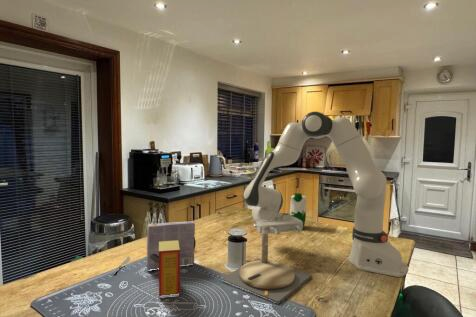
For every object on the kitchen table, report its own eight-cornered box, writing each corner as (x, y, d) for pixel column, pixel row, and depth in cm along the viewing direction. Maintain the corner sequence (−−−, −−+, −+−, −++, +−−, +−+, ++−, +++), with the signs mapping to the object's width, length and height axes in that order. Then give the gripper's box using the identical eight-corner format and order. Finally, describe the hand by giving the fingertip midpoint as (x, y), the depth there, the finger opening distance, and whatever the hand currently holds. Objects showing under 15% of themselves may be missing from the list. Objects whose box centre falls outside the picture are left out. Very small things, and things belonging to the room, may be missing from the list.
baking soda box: (159, 284, 109) (159, 240, 107) (178, 283, 110) (178, 239, 109) (159, 299, 100) (158, 250, 98) (179, 296, 101) (179, 248, 100)
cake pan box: (194, 261, 130) (194, 219, 128) (197, 265, 125) (197, 222, 123) (146, 267, 123) (146, 223, 121) (147, 272, 118) (147, 227, 116)
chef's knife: (135, 256, 135) (128, 256, 134) (136, 254, 134) (129, 253, 134) (120, 276, 115) (112, 275, 115) (120, 273, 115) (112, 273, 115)
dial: (304, 273, 116) (305, 233, 114) (276, 295, 100) (277, 248, 99) (259, 259, 128) (260, 222, 127) (228, 277, 112) (228, 235, 111)
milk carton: (288, 229, 175) (289, 194, 173) (290, 224, 184) (291, 191, 182) (304, 230, 172) (305, 195, 171) (305, 226, 181) (306, 192, 180)
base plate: (311, 277, 116) (311, 274, 116) (278, 304, 97) (278, 300, 97) (258, 260, 131) (258, 257, 131) (220, 281, 112) (220, 277, 112)
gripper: (251, 216, 133) (265, 226, 120) (293, 213, 140) (310, 222, 127) (250, 230, 133) (264, 241, 121) (292, 227, 141) (309, 237, 128)
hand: (288, 231), depth 124 cm, fingers open, 8 cm apart
